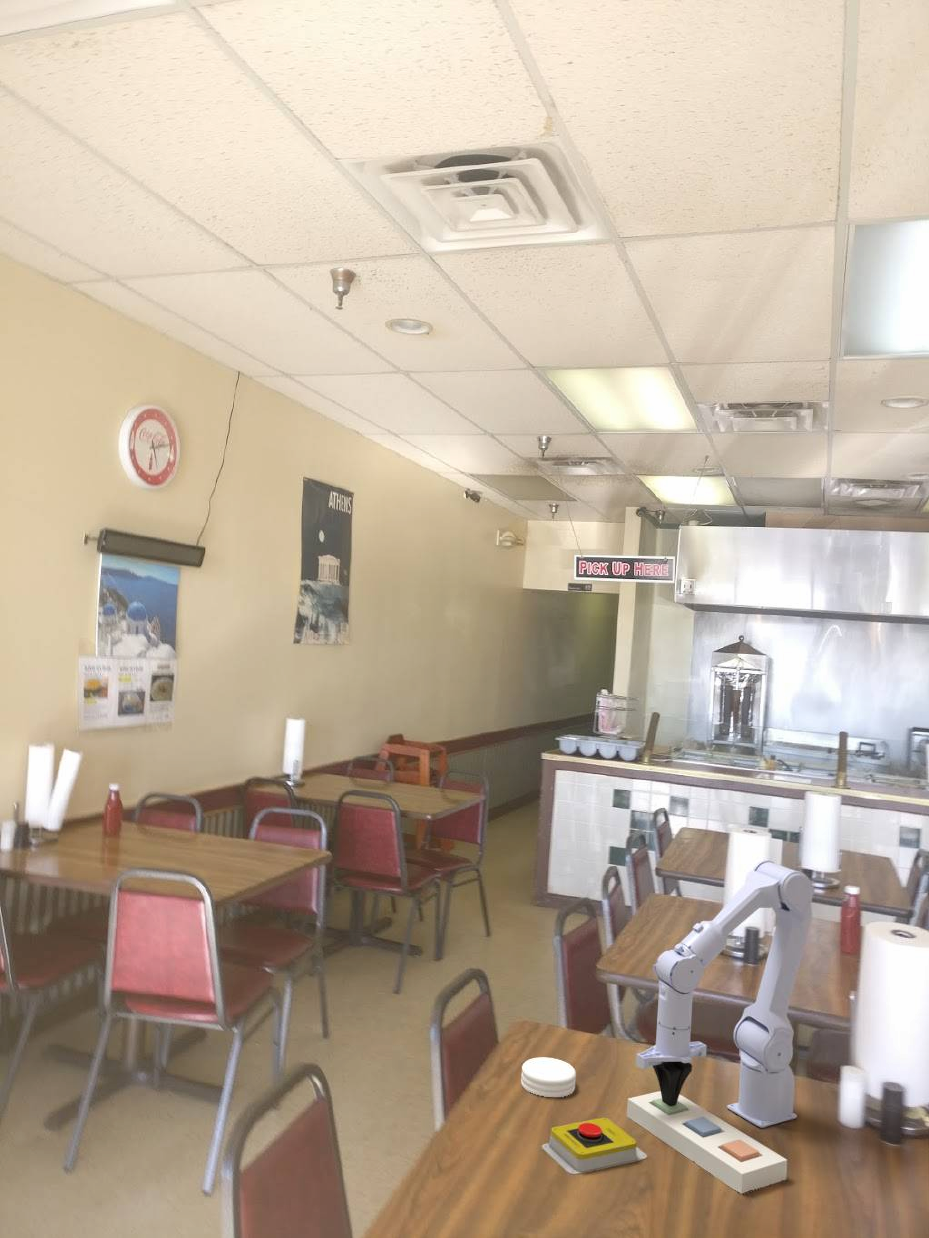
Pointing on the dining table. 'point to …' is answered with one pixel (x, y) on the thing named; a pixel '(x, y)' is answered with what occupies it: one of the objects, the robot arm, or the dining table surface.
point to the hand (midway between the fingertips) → (669, 1103)
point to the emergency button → (591, 1146)
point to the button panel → (708, 1144)
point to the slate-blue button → (703, 1127)
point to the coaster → (548, 1077)
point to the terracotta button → (740, 1150)
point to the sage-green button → (669, 1107)
